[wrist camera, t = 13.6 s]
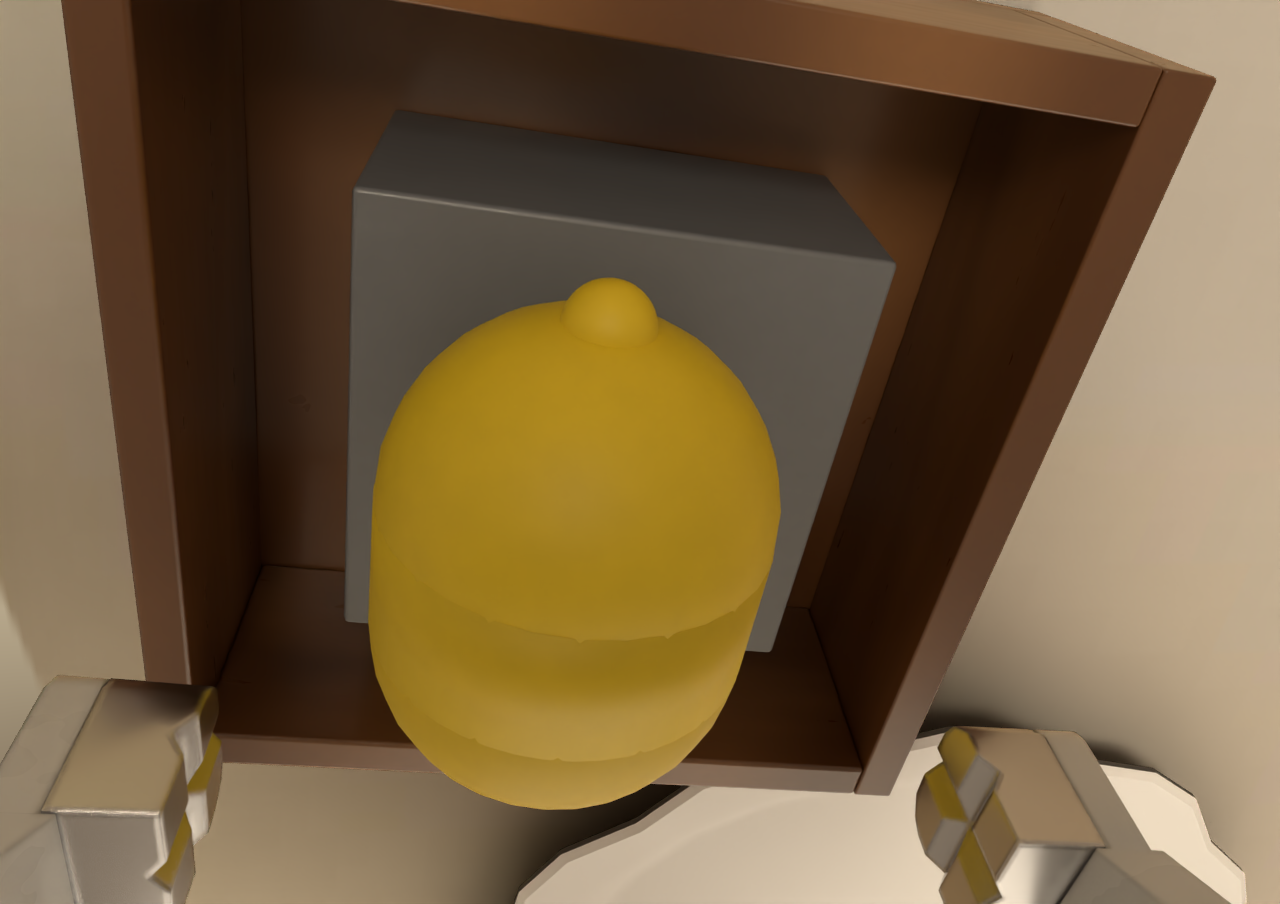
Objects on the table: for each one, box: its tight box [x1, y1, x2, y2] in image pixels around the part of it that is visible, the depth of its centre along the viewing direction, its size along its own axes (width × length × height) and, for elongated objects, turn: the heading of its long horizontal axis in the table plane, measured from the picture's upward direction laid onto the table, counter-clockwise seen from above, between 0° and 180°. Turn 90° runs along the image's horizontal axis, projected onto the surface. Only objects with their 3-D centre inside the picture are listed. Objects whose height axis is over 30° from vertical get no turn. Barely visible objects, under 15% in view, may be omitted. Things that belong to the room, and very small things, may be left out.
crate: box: [61, 0, 1216, 796], centre depth 18 cm, size 15×15×6 cm
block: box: [344, 110, 896, 652], centre depth 18 cm, size 8×8×4 cm
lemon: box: [368, 278, 781, 810], centre depth 14 cm, size 8×5×5 cm, turn 170°
